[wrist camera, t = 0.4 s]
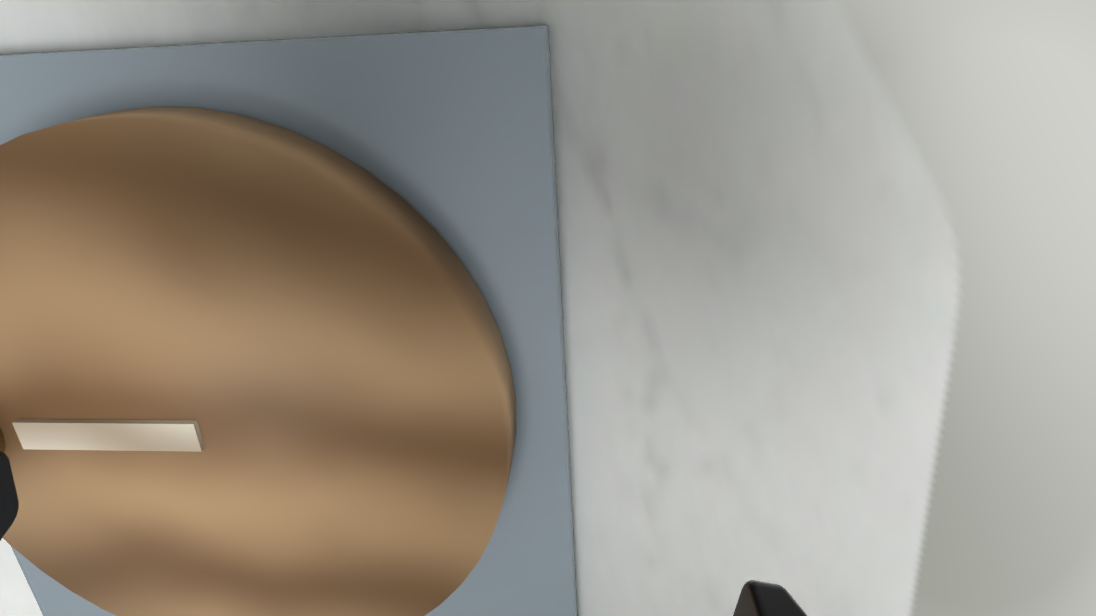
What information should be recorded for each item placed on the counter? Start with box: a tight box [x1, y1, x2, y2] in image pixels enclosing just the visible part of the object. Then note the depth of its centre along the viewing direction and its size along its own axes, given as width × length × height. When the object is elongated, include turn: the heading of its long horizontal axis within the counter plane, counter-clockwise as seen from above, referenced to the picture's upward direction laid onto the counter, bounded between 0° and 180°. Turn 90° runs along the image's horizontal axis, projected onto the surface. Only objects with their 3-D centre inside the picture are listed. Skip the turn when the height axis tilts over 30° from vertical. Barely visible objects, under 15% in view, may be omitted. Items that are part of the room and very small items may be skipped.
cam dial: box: [0, 106, 516, 616], centre depth 20 cm, size 19×19×7 cm
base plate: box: [0, 25, 577, 616], centre depth 23 cm, size 22×22×3 cm
